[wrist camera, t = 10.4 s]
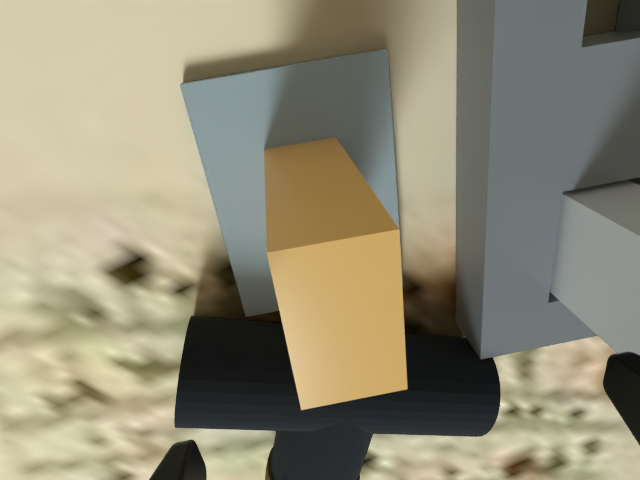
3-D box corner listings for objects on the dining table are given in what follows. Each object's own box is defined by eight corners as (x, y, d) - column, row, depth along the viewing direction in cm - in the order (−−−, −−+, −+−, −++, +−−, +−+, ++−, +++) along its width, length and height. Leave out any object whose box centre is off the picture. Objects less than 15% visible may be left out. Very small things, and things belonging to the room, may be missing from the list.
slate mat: (383, 48, 17) (387, 49, 16) (399, 280, 22) (403, 286, 21) (182, 82, 16) (179, 84, 16) (246, 309, 21) (245, 316, 21)
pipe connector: (440, 540, 24) (164, 546, 21) (410, 457, 29) (182, 453, 26) (515, 386, 19) (177, 367, 16) (465, 318, 24) (195, 294, 21)
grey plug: (587, 163, 20) (802, 251, 12) (573, 253, 22) (746, 378, 14) (527, 174, 20) (704, 271, 12) (519, 264, 22) (663, 395, 14)
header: (752, -265, 14) (869, -335, 11) (625, 288, 24) (671, 320, 21) (457, -224, 13) (507, -286, 11) (455, 322, 23) (480, 359, 21)
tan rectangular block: (335, 137, 17) (399, 229, 9) (348, 243, 20) (407, 389, 12) (263, 149, 17) (266, 252, 9) (284, 254, 20) (301, 410, 12)
